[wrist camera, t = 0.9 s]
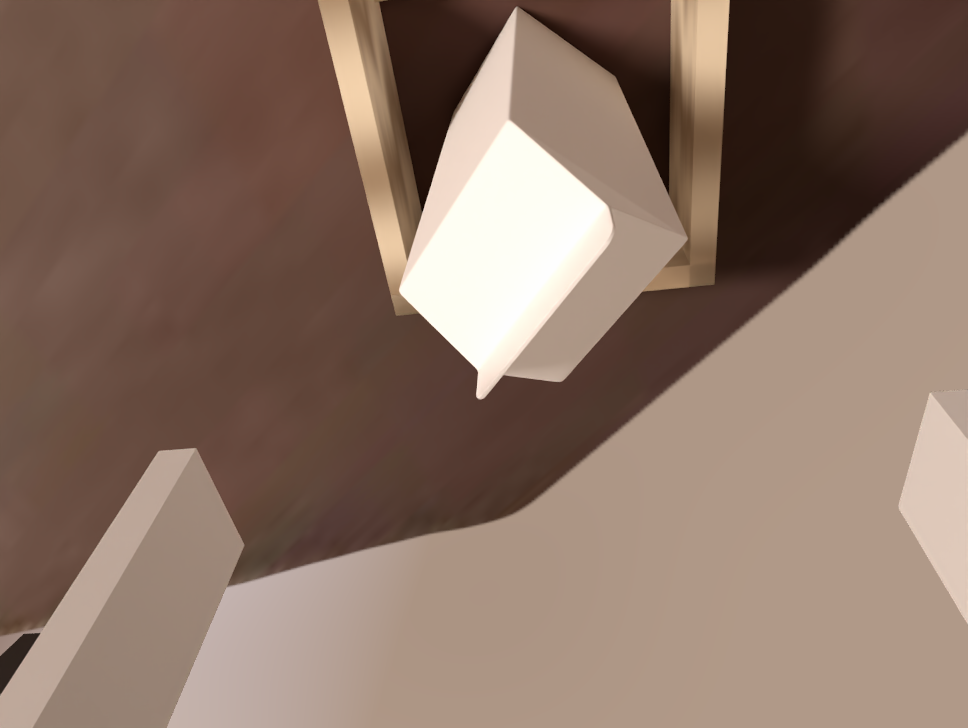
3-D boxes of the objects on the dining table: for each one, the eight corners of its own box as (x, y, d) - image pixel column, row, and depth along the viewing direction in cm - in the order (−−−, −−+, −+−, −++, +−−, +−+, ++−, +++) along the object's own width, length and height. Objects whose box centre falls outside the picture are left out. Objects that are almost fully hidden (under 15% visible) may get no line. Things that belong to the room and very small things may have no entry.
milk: (616, 76, 34) (725, 296, 16) (546, 176, 37) (571, 454, 19) (513, 2, 33) (508, 157, 15) (448, 113, 36) (378, 355, 18)
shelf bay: (347, -26, 32) (315, -9, 27) (700, -83, 30) (733, -75, 25) (411, 263, 41) (396, 315, 36) (690, 233, 39) (714, 284, 34)
